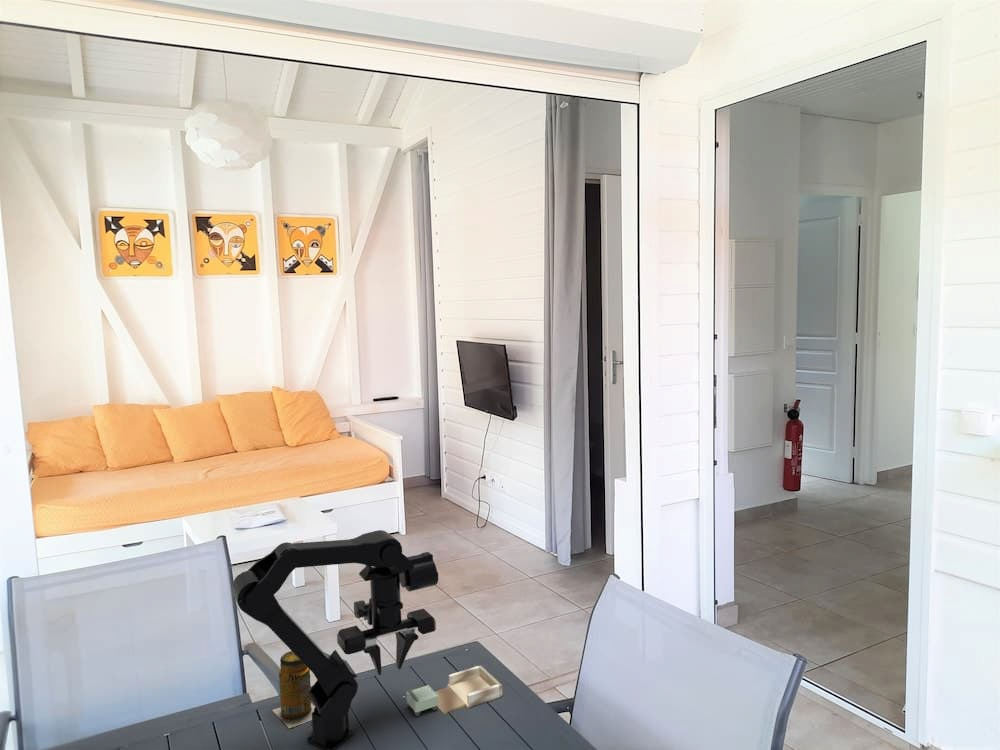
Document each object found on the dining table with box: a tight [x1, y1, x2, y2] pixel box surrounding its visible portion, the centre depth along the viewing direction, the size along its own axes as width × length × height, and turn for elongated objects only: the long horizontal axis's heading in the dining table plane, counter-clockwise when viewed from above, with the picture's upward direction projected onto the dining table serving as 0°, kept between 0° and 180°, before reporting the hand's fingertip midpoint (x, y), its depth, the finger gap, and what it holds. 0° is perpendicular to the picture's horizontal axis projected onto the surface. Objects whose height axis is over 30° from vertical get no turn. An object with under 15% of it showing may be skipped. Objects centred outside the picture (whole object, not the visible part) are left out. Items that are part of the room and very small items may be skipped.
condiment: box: [272, 650, 315, 729], centre depth 147 cm, size 7×8×12 cm
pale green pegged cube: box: [405, 684, 438, 717], centre depth 148 cm, size 5×5×4 cm
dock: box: [434, 664, 503, 714], centre depth 153 cm, size 13×10×3 cm
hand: (388, 671), depth 144 cm, fingers open, 4 cm apart
